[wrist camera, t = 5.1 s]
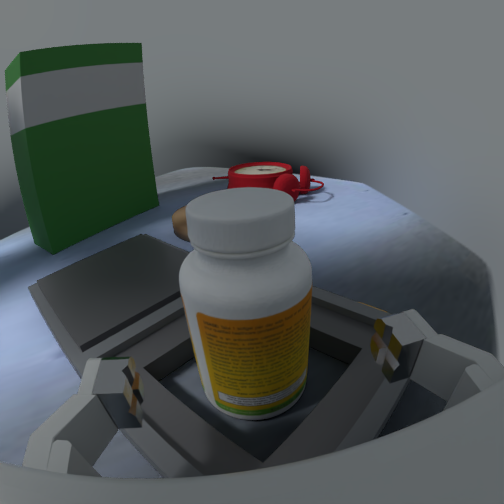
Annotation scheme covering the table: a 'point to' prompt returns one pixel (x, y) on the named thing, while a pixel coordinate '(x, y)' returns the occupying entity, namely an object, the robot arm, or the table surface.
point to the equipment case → (181, 350)
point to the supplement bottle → (247, 300)
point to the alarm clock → (270, 178)
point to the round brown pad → (180, 224)
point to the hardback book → (80, 139)
